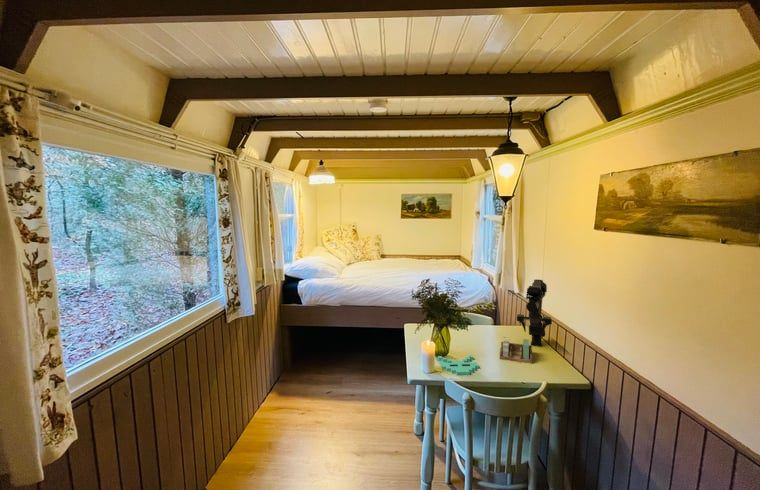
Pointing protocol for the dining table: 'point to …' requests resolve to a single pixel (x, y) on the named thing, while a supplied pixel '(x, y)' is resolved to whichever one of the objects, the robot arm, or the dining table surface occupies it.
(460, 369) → the alien figure
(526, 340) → the green book
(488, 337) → the dining table surface
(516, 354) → the book rack
